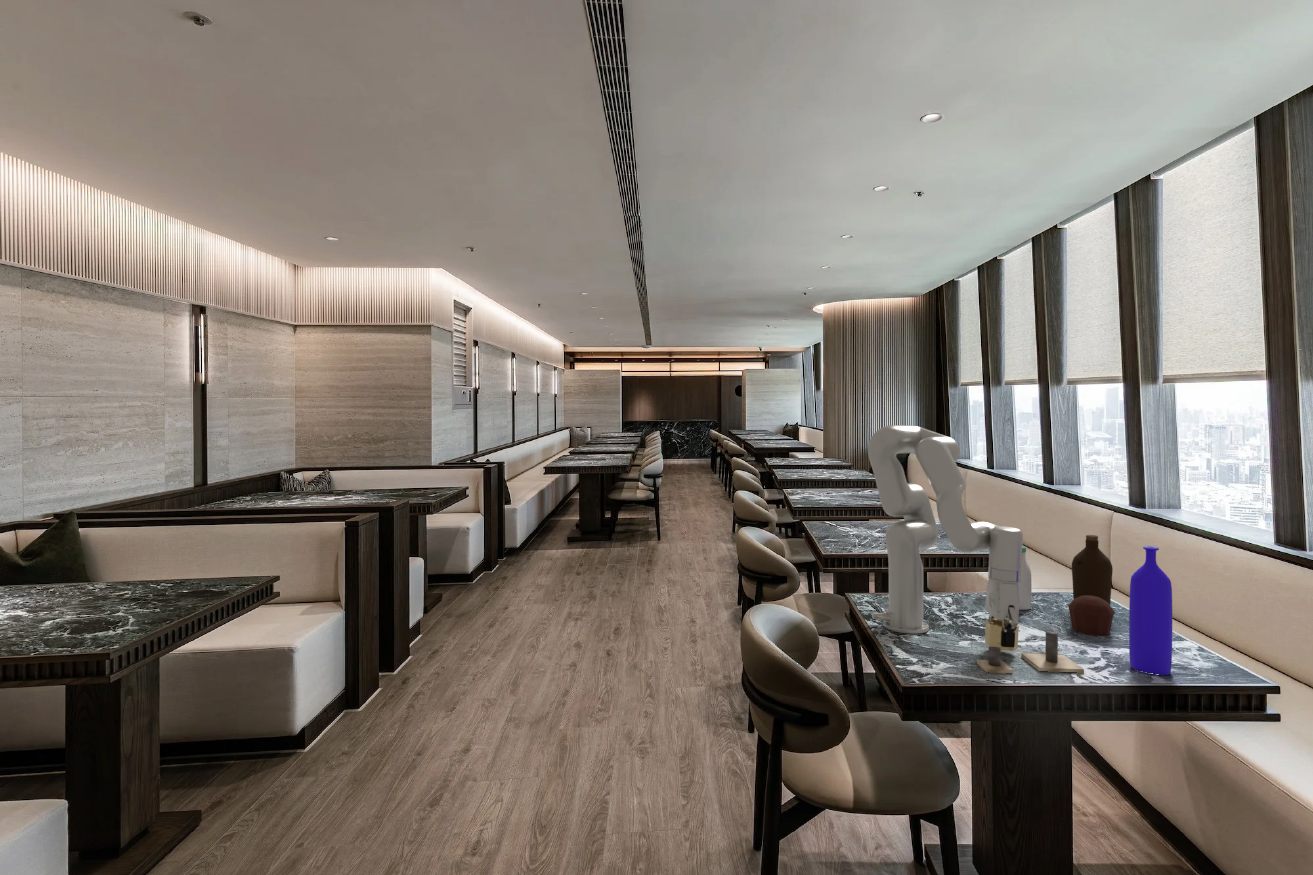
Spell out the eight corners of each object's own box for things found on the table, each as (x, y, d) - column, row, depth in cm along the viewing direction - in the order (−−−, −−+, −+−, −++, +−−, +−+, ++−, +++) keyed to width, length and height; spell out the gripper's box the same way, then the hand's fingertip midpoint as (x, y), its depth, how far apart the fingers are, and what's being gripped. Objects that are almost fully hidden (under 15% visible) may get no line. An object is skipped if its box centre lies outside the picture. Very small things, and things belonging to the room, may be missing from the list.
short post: (986, 672, 155) (986, 652, 155) (976, 663, 161) (976, 643, 161) (1012, 673, 154) (1012, 652, 154) (1002, 664, 160) (1002, 644, 160)
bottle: (1181, 675, 152) (1182, 549, 152) (1148, 677, 151) (1149, 550, 151) (1151, 663, 160) (1152, 543, 160) (1120, 664, 160) (1121, 544, 159)
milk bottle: (1035, 611, 206) (1035, 549, 206) (1009, 609, 207) (1009, 548, 207) (1026, 604, 213) (1026, 544, 213) (1001, 603, 215) (1001, 543, 215)
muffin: (1067, 622, 193) (1067, 589, 193) (1112, 628, 188) (1112, 594, 188) (1069, 634, 183) (1069, 599, 183) (1116, 640, 177) (1116, 604, 177)
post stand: (1039, 671, 155) (1039, 638, 155) (1021, 656, 165) (1021, 626, 165) (1084, 673, 154) (1084, 640, 154) (1062, 658, 164) (1062, 627, 164)
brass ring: (992, 649, 165) (993, 626, 165) (981, 639, 172) (982, 617, 172) (1021, 651, 164) (1022, 628, 164) (1009, 641, 171) (1010, 619, 171)
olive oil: (1109, 622, 194) (1109, 539, 193) (1068, 615, 201) (1068, 535, 201) (1114, 614, 201) (1115, 535, 201) (1075, 608, 209) (1075, 531, 208)
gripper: (976, 565, 176) (974, 629, 177) (1003, 582, 159) (999, 652, 160) (1005, 566, 176) (1002, 630, 176) (1035, 584, 158) (1031, 654, 159)
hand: (1001, 640), depth 168 cm, fingers closed on brass ring, 7 cm apart
